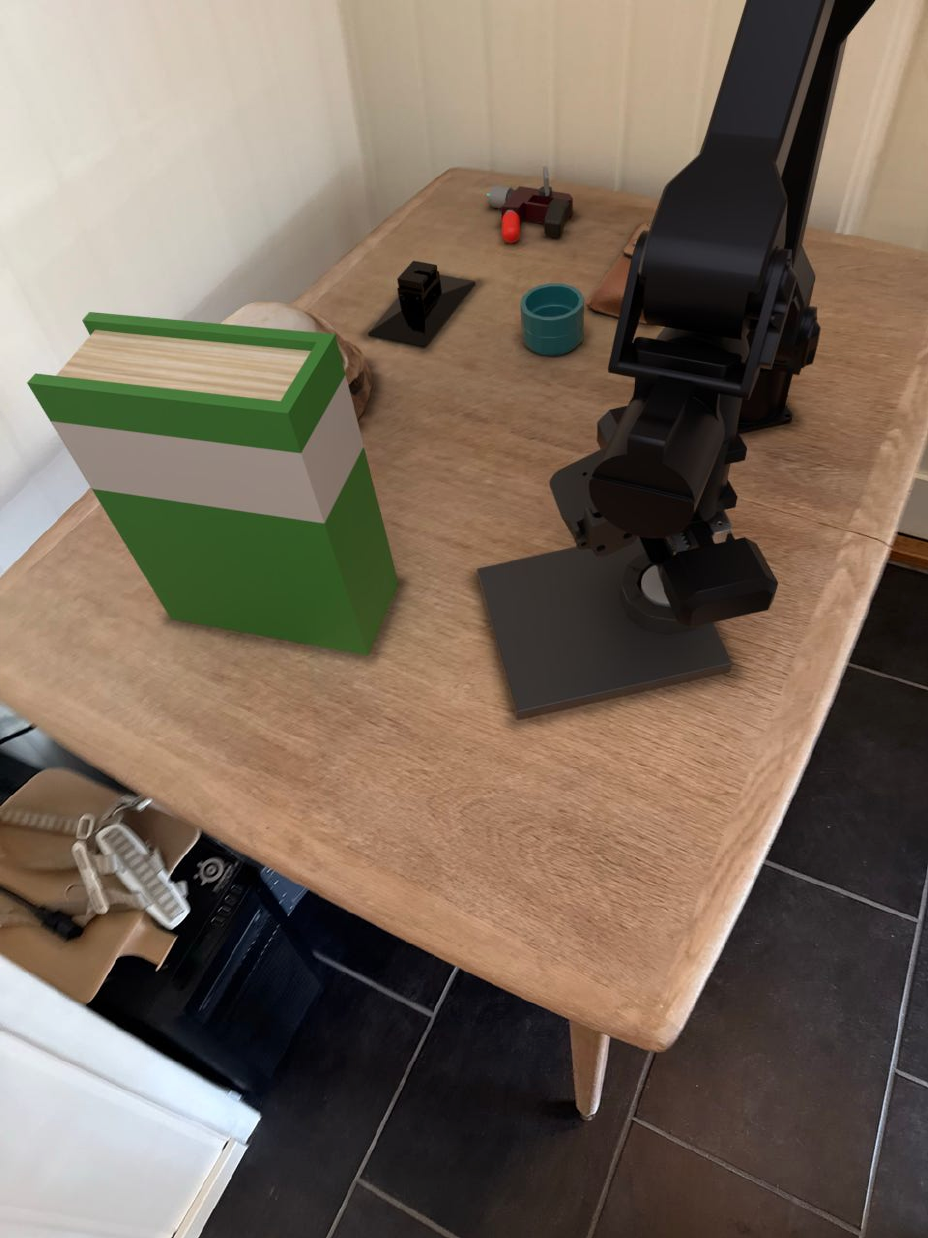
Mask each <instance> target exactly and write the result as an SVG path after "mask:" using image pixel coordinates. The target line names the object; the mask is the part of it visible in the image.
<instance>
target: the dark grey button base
mask: <svg viewBox="0 0 928 1238" xmlns="http://www.w3.org/2000/svg"><path fill="white" fill-rule="evenodd" d="M652 566H655V565H653V564H652V563H651V562H650V561H649V559H648V557H647V554H646V552H645V550H644V548H643V545H642V543H641V541H640V539H639V536H638V537H637V539H636V540H635V542H634V543H633V544H631V545H629V546H627V547H624V548H622V549H620V550H618V551H616V552H614V553H612V554H609V555H607V556H604V557H602V556H596V555H595V554H594V552H593V551H592V549H583V550H580V549H578V548H577V546H574V547H568V548H564V549H560V550H555V551H550V552H547V553H546V552H545V553H541V554H537V555H533V556H528V557H524V558H519V559H515V560H510V561H506V562H501V563H496V564H492V565H487V566H482V567H478V568H477V569H476V573H477V579H478V583H479V586H480V590H481V594H482V597H483V601H484V605H485V608H486V611H487V615H488V619H489V623H490V626H491V630H492V633H493V637H494V642H495V645H496V648H497V651H498V655H499V659H500V663H501V666H502V670H503V674H504V677H505V680H506V684H507V688H508V693H509V695H510V699H511V703H512V707H513V710H514V714H515V717H516V720H517V721H520V720H526V719H530V718H534V717H538V716H542V715H547V714H552V713H556V712H561V711H564V710H568V709H573V708H578V707H583V706H587V705H591V704H597V703H600V702H604V701H609V700H614V699H617V698H623V697H627V696H631V695H635V694H636V695H637V694H640V693H644V692H648V691H653V690H657V689H662V688H666V687H670V686H675V685H679V684H683V683H690V682H692V681H697V680H701V679H706V678H711V677H715V676H719V675H723V674H727V673H731V669H732V666H733V662H732V660H731V658H730V656H729V653H728V652H727V649H726V646H725V645H724V643H723V641H722V639H721V636H720V635H719V632H718V630H717V628H716V625H715V623H714V622H713V623H708V624H704V625H700V626H695V627H691V628H689V627H687V626H684V625H682V624H680V623H678V622H677V619H676V617H675V615H674V613H673V611H672V608H671V607H666V606H661V605H656V604H653V603H652V602H651V601H649V600H648V599H646V598H645V597H644V596H642V594H641V581H642V577H643V575H644V573H645V572H646V571H647V570H648V569H649V568H651V567H652Z"/></svg>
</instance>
